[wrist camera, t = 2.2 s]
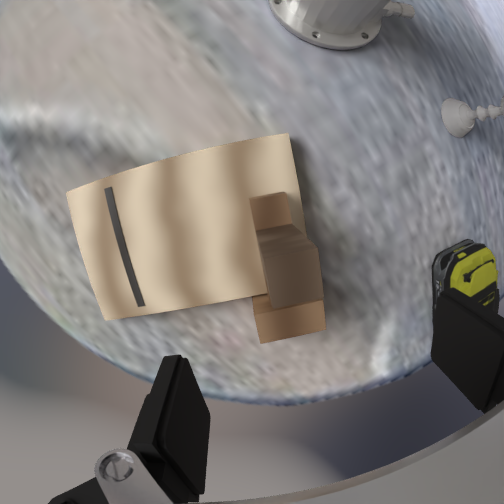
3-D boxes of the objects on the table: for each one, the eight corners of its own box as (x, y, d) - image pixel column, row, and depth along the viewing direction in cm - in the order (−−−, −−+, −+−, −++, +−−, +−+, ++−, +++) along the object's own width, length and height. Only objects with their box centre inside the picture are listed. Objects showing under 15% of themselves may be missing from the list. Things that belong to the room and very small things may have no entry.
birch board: (284, 136, 25) (288, 132, 23) (309, 276, 29) (313, 283, 27) (75, 190, 25) (65, 192, 23) (111, 312, 29) (104, 321, 27)
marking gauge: (295, 187, 26) (337, 197, 15) (313, 306, 29) (351, 377, 18) (231, 200, 26) (225, 218, 15) (257, 318, 29) (267, 397, 18)
